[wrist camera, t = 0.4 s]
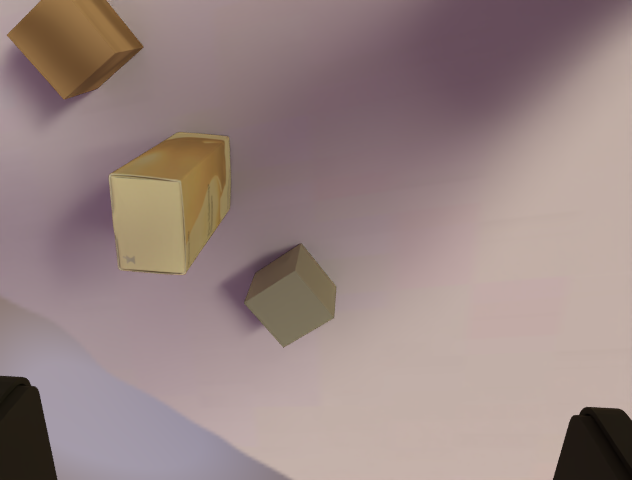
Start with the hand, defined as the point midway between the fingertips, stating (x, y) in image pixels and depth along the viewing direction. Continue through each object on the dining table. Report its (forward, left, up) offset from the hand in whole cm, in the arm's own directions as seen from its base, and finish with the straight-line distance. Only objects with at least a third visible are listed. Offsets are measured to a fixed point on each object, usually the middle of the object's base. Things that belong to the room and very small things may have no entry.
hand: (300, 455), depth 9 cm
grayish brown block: (+12, +9, -33) cm, 36 cm away
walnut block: (+12, -15, -33) cm, 38 cm away
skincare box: (+12, -3, -33) cm, 35 cm away
